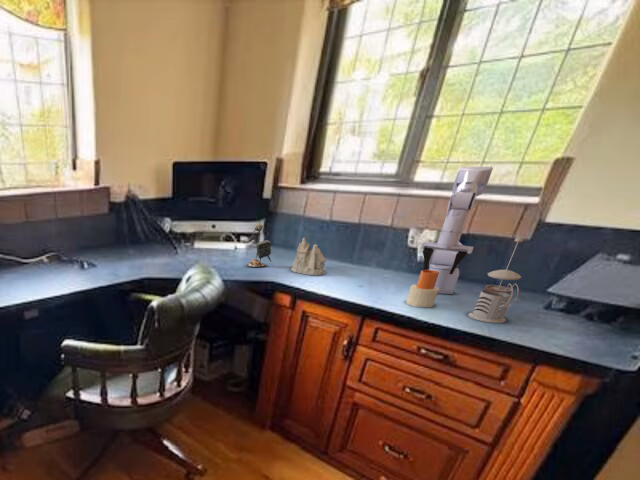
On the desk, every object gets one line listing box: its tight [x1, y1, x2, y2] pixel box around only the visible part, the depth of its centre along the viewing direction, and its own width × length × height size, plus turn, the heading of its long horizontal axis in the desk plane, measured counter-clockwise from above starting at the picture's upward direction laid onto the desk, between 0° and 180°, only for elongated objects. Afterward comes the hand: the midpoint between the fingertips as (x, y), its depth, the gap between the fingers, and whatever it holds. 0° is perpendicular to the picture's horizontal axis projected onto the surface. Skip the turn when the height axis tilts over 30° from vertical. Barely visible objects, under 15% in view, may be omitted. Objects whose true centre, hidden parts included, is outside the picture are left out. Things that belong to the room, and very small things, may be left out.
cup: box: [416, 269, 439, 289], centre depth 145 cm, size 5×5×6 cm
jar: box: [405, 283, 439, 308], centre depth 148 cm, size 8×8×6 cm
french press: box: [467, 236, 524, 324], centre depth 129 cm, size 10×12×25 cm
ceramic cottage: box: [290, 237, 327, 276], centre depth 190 cm, size 16×16×15 cm
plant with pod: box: [247, 222, 272, 268], centre depth 198 cm, size 8×11×20 cm
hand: (438, 271), depth 147 cm, fingers open, 7 cm apart
